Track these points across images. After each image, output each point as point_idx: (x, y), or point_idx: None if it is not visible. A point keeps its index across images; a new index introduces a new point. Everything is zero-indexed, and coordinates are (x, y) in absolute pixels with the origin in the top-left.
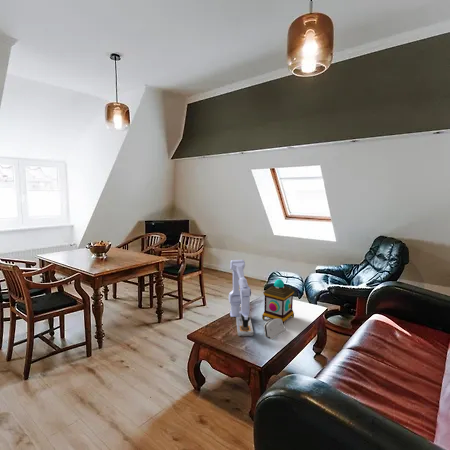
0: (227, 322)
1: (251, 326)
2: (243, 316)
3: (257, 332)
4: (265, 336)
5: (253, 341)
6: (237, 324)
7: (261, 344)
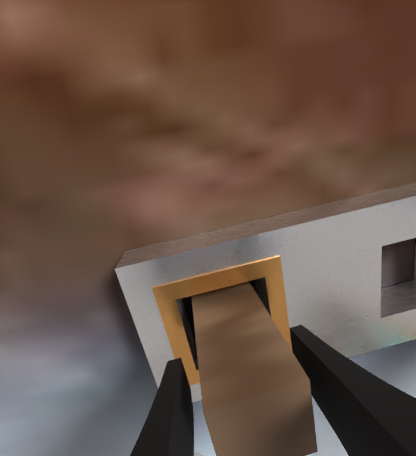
0: (409, 74)
1: None
2: (375, 446)
3: None
4: None
5: (67, 393)
6: (311, 225)
7: (43, 450)
